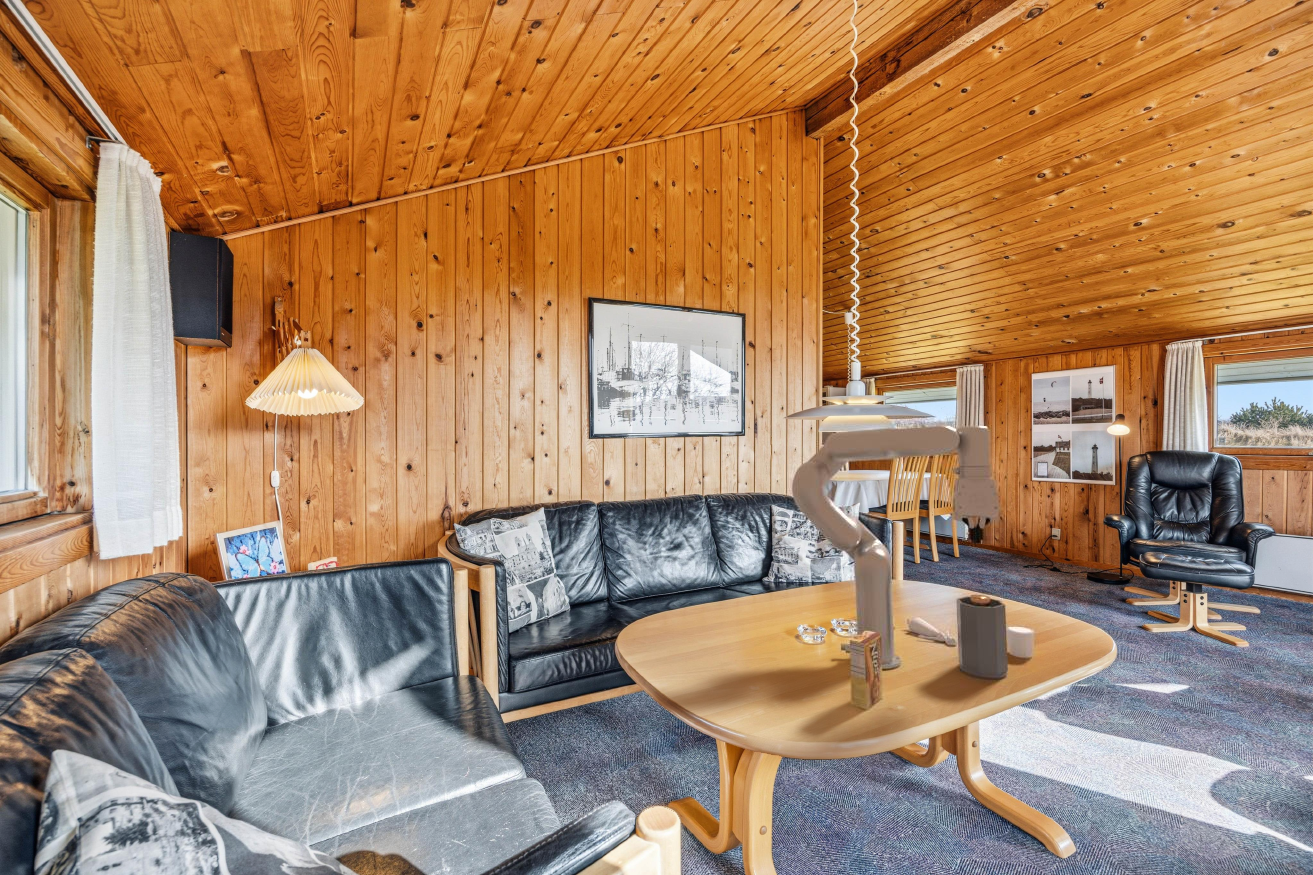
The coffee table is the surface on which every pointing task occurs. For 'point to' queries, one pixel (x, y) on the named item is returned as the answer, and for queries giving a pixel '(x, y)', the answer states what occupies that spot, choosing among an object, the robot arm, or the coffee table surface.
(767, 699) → the coffee table surface
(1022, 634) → the white cylinder
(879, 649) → the candy box
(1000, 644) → the press pot
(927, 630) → the woman figurine
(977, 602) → the plunger
